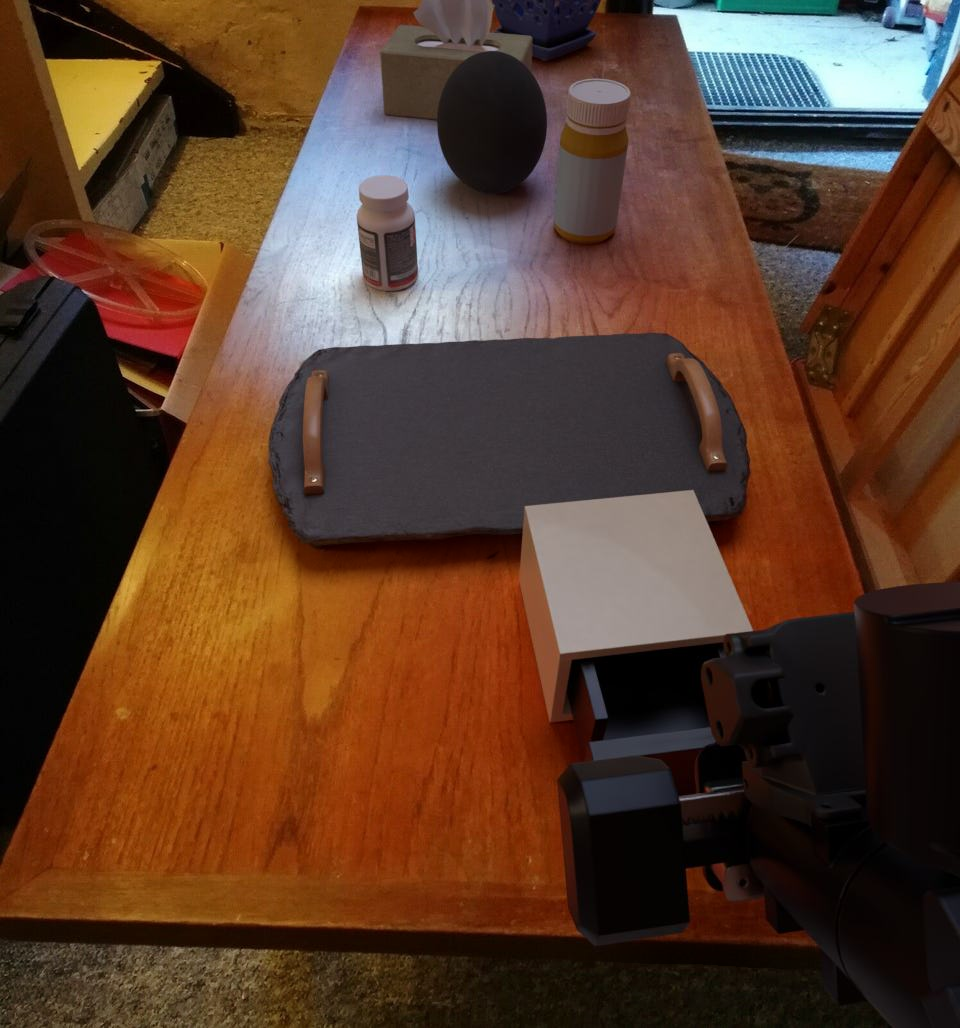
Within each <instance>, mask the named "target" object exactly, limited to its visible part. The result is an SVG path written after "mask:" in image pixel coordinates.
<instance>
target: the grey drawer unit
mask: <svg viewBox="0 0 960 1028" xmlns="http://www.w3.org/2000/svg"><path fill="white" fill-rule="evenodd" d="M518 576H519V578H518V582H519V587H520V591H521V596H522V601H523V606H524V611H525V616H526V619H527V620H526V621H527V624H528V629H529V633H530V638H531V641H532V642H531V643H532V648H533V652H534V657H535V661H536V667H537V670H538V675H539V680H540V685H541V689H542V694H543V698H544V702H545V708H546V713H547V716H548V717H547V718H548V722H549V723H556V722H557V723H558V722H559V723H560V722H566V721H573V716H572V712H571V708H570V704H569V700H568V695H567V685H568V680H569V674H570V668H571V662H572V660H574V659H583V658H592V657H600V656H609V655H617V654H626V653H635V652H643V651H652V650H661V649H669V648H678V647H686V646H695V645H704V644H712V643H721V642H723V640H724V636H725V635H726V634H730V633H739V632H748V631H754V629H753V626H752V624H751V621H750V619H749V617H748V615H747V613H746V611H745V607H744V605H743V603H742V601H741V598H740V596H739V594H738V592H737V589H736V586H735V585H734V582H733V579H732V577H731V574H730V572H729V570H728V568H727V566H726V563H725V561H724V558H723V555H722V553H721V551H720V549H719V547H718V545H717V541H716V539H715V538H714V535H713V532H712V530H711V528H710V525H709V523H708V521H706V518H705V516H704V514H703V511H702V509H701V507H700V504H699V502H698V499H697V497H696V495H695V492H694V490H687V491H677V492H667V493H656V494H646V495H635V496H625V497H615V498H604V499H594V500H584V501H573V502H563V503H552V504H542V505H532V506H525V508H524V522H523V534H522V537H521V549H520V562H519V575H518Z"/></svg>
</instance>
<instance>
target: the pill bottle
mask: <svg viewBox="0 0 960 1028" xmlns="http://www.w3.org/2000/svg"><path fill="white" fill-rule="evenodd" d="M409 196H410V195H409V187H408V183H407V182H406V180H404V179H403V178H401V177H398V176H396V175H389V174H381V175H380V174H379V175H374V176H369V177H367V178H365V179H364V180H362V181H361V182H360V183H359V185H358V198H359V202H360V203H361V205H360V206H359V208H358V209H357V212H356V223H357V225H356V226H357V233H358V243H359V252H360V260H361V271H362V277H363V280H364V281H365V283H366V284H367V285H368V286H369V287H371V288H372V289H375V290H379V291H385V292H395V291H400V290H403V289H406V288H408V287H410V286H411V285H413V284H414V283H415V282H416V280H417V278H418V276H419V264H418V248H417V231H416V230H417V229H416V214H415V210H414V207H412V205H411V204H410V203H409V202H408V201H409Z"/></svg>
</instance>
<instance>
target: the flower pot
mask: <svg viewBox="0 0 960 1028" xmlns="http://www.w3.org/2000/svg"><path fill="white" fill-rule="evenodd" d="M491 2H492V3H493V4H494V5H495V7H494V10H493V11H494V12H495V13H494V14H495V15H496V18H497V20H498V23H499V25H500V27H498V28H496V29H494V31H493V33H503V34H515V35H527V36H531V37H532V57H535V58H537V59H540V60H541V61H543V62H547V61H551V60H554V59H557V58H559V57H562V56H564V55H567V54H569V53H572V52H574V51H577V50H580V49H582V48H584V47H586V46H587V45H589V44H590V43H591V42H592V41H593V40H594V39H595V37H596V36H597V32H596V31H595V30H592V29H590V28H588V27H589V25H590V24H591V22H592V21H593V19H594V17H595V15H596V13H597V11H598V9H599V6H600V4H601V2H602V0H491Z"/></svg>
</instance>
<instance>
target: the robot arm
mask: <svg viewBox="0 0 960 1028" xmlns="http://www.w3.org/2000/svg"><path fill="white" fill-rule="evenodd" d="M853 610H854V611H848V612H840V613H831V614H822V615H813V616H805V617H796V618H789V619H786V620H783V621H781V622H779V623H776V624H774V625H771V626H769V627H766V628H764V629H757V630H753V631H748V632H739V633H730V634H726V635H725V636H724V640H723V646H724V656H723V657H721V658H713V659H711V660H708V661H706V662H704V664H703V665H702V670H701V681H702V687H703V692H704V697H705V702H706V707H707V712H708V718H709V723H710V728H711V732H712V735H713V737H714V739H715V740H716V742H714V743H712V744H708V745H706V746H704V747H703V748H702V749H701V750H700V751H699V753H698V755H697V758H696V761H695V780H696V793H697V794H692V795H685V796H678V793H677V789H676V786H675V783H674V780H673V776H672V773H671V770H670V768H669V767H668V766H667V765H666V764H665V763H664V762H663V761H662V760H661V759H654V758H648V757H642V756H636V755H634V756H626V757H618V758H610V759H603V760H595V761H587V762H583V761H580V762H572V763H569V764H568V765H567V767H566V768H565V769H563V772H562V773H561V774H560V775H559V777H558V778H557V779H556V785H557V786H556V787H557V798H558V808H559V820H560V831H561V843H562V854H563V855H562V856H563V866H564V867H563V868H564V877H565V878H564V879H565V889H566V901H567V909H568V911H569V914H570V917H571V919H572V922H573V924H574V926H575V928H576V931H577V932H578V933H580V934H581V936H582V937H584V938H585V939H586V940H587V941H588V942H590V943H591V944H592V945H593V946H594V947H599V946H605V945H613V944H619V943H625V942H631V941H633V942H634V941H638V940H645V939H646V940H647V939H653V938H658V937H665V936H671V935H677V934H678V935H679V934H684V932H685V931H686V929H687V927H688V926H689V924H690V923H691V917H690V905H689V892H688V879H687V869H686V868H691V867H698V866H702V867H701V871H702V875H703V877H704V880H705V881H706V883H707V884H708V886H709V887H710V888H712V889H713V890H714V891H716V892H722V893H723V896H724V897H725V899H726V900H727V901H728V902H730V903H739V902H746V901H751V900H758V899H759V900H760V899H764V910H765V911H764V913H765V920H766V922H768V924H769V925H770V926H771V927H772V929H773V930H774V931H775V932H776V933H777V934H778V935H782V934H788V933H789V934H790V933H793V932H795V933H796V932H800V931H804V932H805V933H806V934H807V935H808V936H809V937H810V938H811V939H812V941H813V942H814V943H815V944H816V945H817V946H818V947H819V957H820V971H821V972H820V973H821V985H822V988H823V989H824V990H825V992H826V993H827V994H828V995H829V996H830V997H831V998H832V1000H833V1001H834V1002H835V1004H837V1006H838V1007H841V1006H846V1005H847V1006H848V1005H853V1004H859V1003H860V1004H861V1003H865V1002H869V1004H871V1006H872V1007H873V1008H874V1009H875V1010H876V1011H877V1012H878V1013H879V1015H880V1016H881V1017H882V1018H883V1019H884V1020H885V1021H886V1022H887V1023H888V1025H890V1026H891V1028H960V581H943V582H928V583H927V582H926V583H914V584H905V585H897V586H892V587H885V588H880V589H876V590H873V591H867V592H865V593H863V594H860V595H859V596H857V597H855V599H854V601H853ZM698 868H699V867H698ZM691 869H692V868H691Z"/></svg>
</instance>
